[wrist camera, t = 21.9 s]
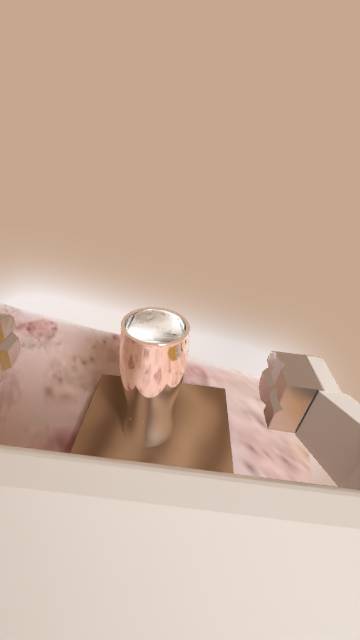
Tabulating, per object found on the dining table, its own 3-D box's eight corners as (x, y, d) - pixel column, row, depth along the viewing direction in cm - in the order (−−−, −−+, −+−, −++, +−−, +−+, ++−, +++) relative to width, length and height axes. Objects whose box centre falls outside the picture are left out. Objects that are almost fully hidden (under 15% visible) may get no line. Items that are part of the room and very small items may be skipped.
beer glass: (126, 401, 39) (127, 302, 31) (178, 407, 39) (193, 310, 31) (112, 448, 33) (110, 340, 25) (174, 455, 33) (190, 350, 25)
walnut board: (58, 492, 30) (57, 484, 29) (102, 381, 44) (102, 374, 43) (233, 512, 30) (236, 504, 29) (223, 395, 44) (224, 388, 43)
